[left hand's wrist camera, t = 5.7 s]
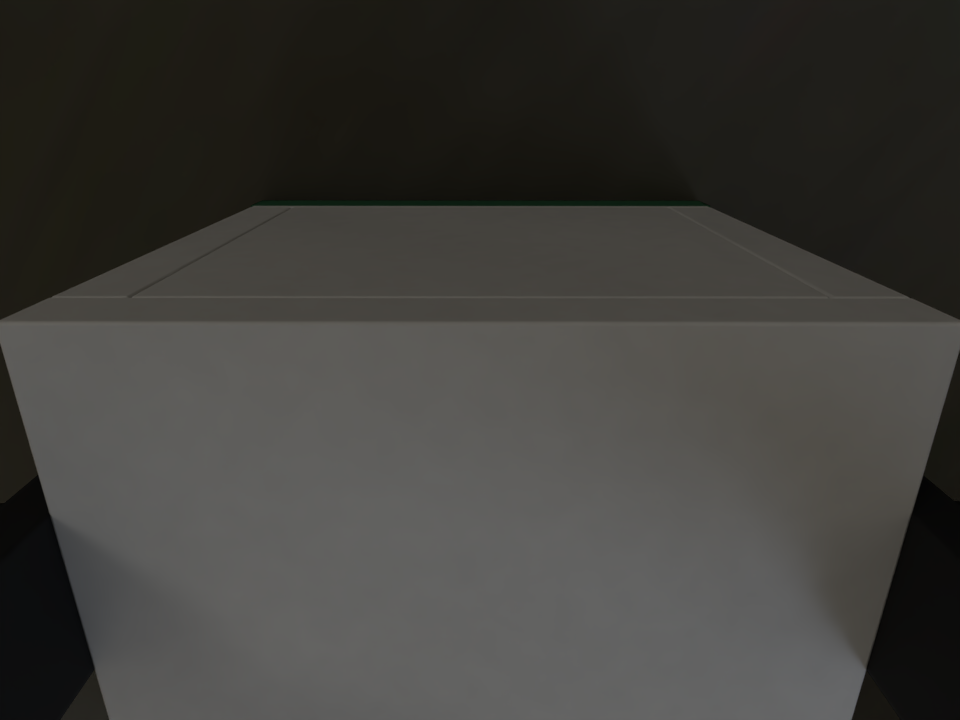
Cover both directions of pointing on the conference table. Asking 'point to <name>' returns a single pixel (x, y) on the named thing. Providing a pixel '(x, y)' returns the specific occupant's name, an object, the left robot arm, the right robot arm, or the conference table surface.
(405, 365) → the cabinet
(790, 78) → the conference table surface
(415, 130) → the conference table surface
